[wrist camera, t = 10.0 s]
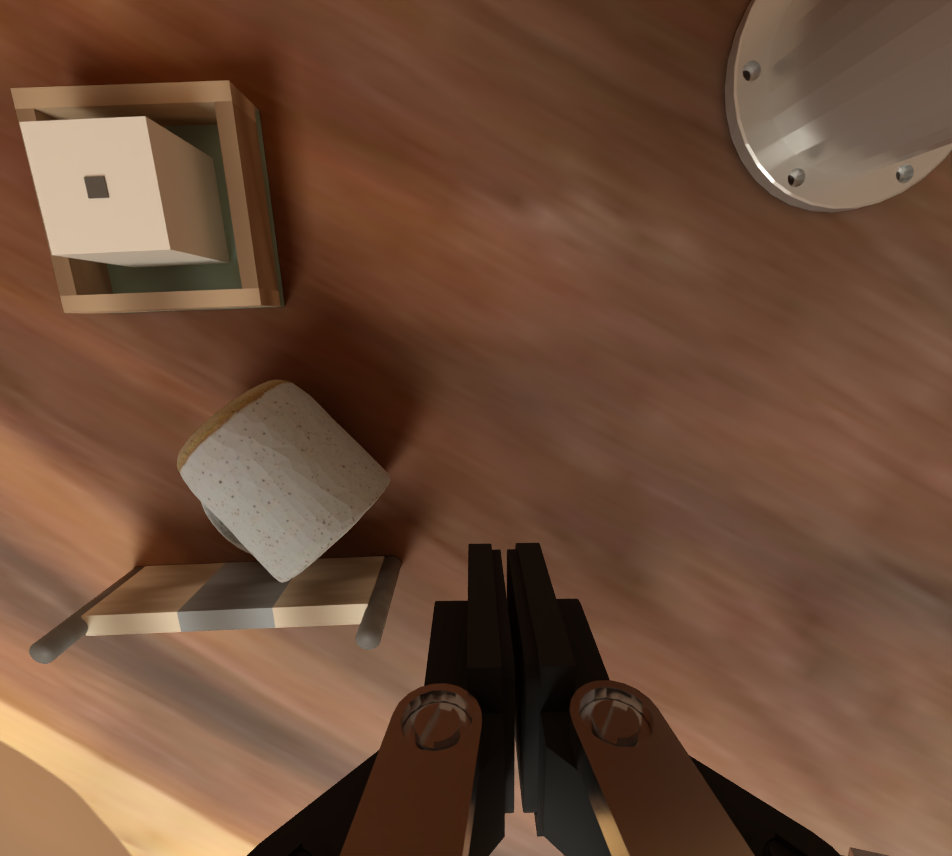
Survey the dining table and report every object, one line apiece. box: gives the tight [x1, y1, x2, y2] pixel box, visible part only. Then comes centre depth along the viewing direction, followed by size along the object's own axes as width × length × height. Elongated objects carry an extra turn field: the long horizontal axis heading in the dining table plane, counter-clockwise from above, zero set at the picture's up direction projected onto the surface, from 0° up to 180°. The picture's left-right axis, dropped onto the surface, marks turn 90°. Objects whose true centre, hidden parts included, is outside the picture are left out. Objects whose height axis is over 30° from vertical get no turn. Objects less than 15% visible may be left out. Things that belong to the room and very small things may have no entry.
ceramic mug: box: [177, 380, 391, 583], centre depth 24 cm, size 11×8×8 cm
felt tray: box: [11, 80, 285, 313], centre depth 23 cm, size 10×10×3 cm
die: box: [19, 116, 230, 267], centre depth 21 cm, size 5×5×5 cm
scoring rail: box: [29, 556, 401, 664], centre depth 26 cm, size 17×1×7 cm, turn 92°
